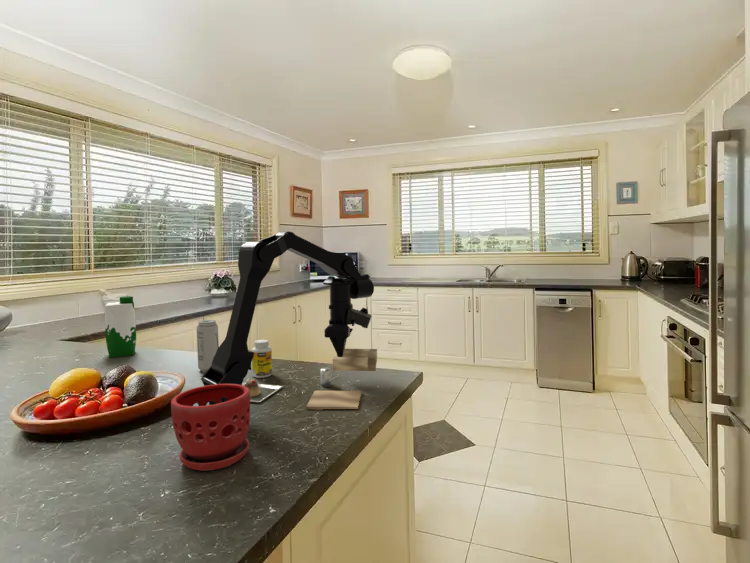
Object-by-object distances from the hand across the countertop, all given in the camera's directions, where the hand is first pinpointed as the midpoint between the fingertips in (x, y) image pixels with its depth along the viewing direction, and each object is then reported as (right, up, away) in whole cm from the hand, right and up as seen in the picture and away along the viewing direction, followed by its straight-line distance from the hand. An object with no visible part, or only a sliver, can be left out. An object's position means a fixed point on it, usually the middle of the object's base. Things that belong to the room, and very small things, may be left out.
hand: (340, 356), depth 120 cm
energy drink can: (-41, -6, +11) cm, 43 cm away
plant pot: (-19, -11, -42) cm, 48 cm away
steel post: (-4, -7, -3) cm, 9 cm away
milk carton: (-79, -5, +30) cm, 84 cm away
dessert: (-22, -9, -9) cm, 26 cm away
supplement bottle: (-23, -7, +6) cm, 25 cm away
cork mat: (0, -8, -15) cm, 17 cm away
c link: (+4, -2, -4) cm, 6 cm away
